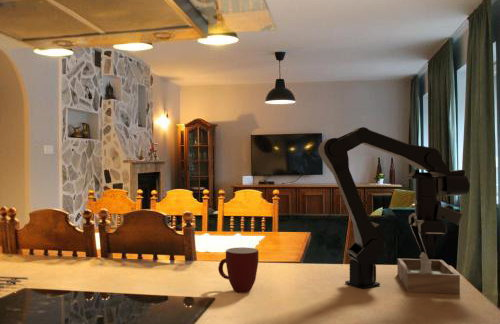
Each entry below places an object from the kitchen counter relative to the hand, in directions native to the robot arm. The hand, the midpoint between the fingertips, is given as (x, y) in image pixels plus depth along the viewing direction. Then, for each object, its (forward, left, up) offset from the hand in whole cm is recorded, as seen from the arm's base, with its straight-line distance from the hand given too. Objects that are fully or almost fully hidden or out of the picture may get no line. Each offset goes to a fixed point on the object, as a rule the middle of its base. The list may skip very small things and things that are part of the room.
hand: (426, 255), depth 123 cm
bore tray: (0, 0, -7) cm, 7 cm away
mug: (-45, +21, -8) cm, 50 cm away
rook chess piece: (0, 0, -8) cm, 8 cm away
